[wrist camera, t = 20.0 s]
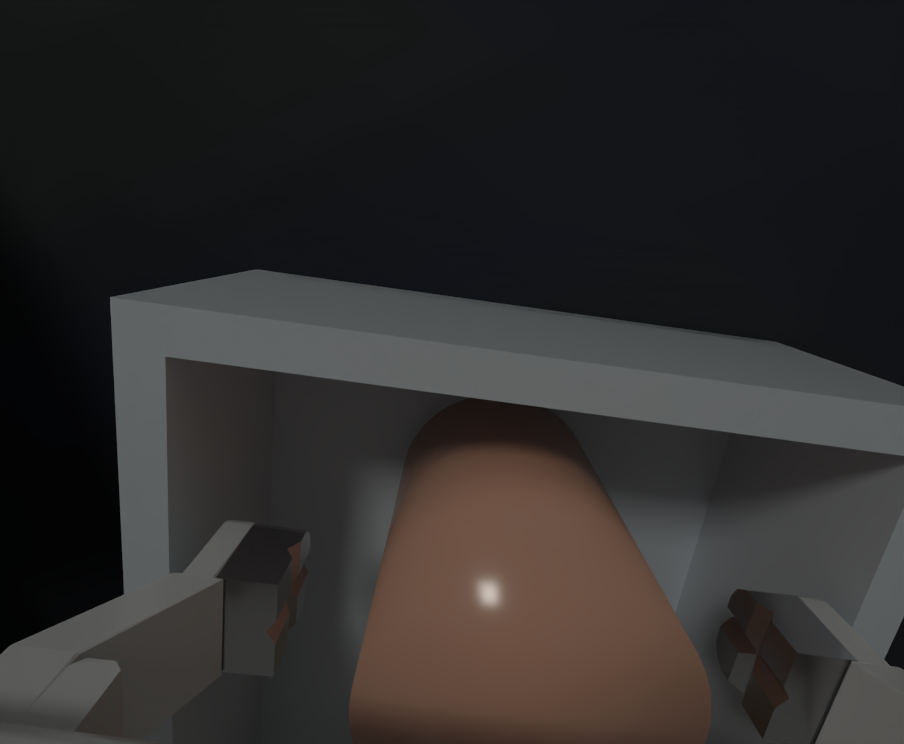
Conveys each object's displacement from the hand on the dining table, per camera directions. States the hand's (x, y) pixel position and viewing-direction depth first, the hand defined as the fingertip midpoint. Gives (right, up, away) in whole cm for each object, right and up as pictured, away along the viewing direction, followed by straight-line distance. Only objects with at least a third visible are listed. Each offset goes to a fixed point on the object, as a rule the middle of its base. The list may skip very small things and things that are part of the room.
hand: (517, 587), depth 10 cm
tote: (-1, -3, +6) cm, 6 cm away
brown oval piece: (0, +1, +4) cm, 4 cm away
